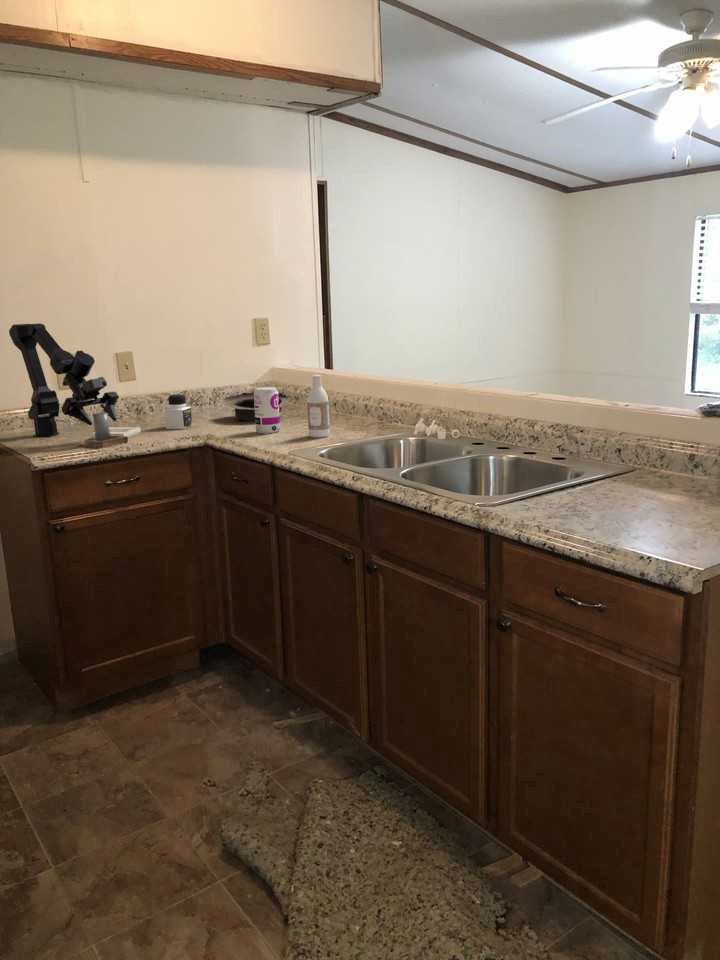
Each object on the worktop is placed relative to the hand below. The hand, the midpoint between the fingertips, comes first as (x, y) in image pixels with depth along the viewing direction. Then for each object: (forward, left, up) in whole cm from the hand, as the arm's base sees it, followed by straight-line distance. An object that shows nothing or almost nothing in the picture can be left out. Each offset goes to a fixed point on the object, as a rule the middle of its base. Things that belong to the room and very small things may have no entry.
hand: (103, 422), depth 252 cm
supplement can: (+47, +26, -7) cm, 54 cm away
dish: (-4, +15, -7) cm, 17 cm away
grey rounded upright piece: (-1, +1, -7) cm, 7 cm away
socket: (0, 0, -7) cm, 7 cm away
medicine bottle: (+11, +33, -7) cm, 35 cm away
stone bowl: (+34, +54, -8) cm, 64 cm away
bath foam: (+67, +19, -7) cm, 70 cm away
